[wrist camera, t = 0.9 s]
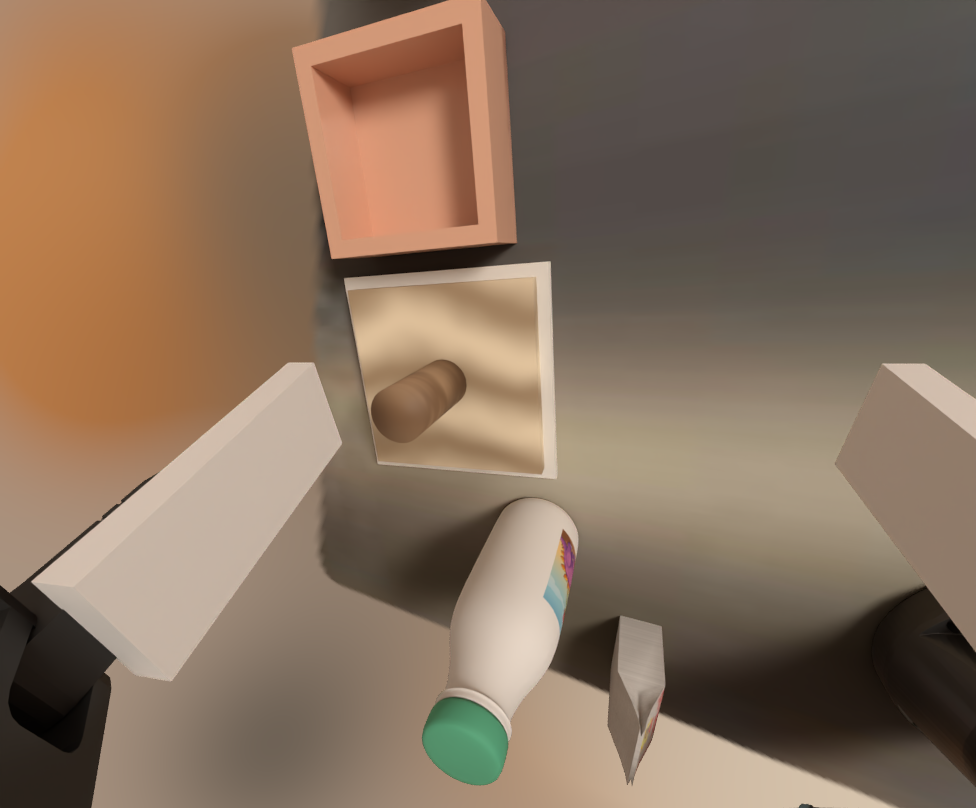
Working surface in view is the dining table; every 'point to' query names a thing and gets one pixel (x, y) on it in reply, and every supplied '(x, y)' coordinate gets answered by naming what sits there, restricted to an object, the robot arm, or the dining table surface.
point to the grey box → (635, 690)
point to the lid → (453, 373)
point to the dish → (412, 132)
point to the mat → (545, 339)
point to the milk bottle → (502, 637)
